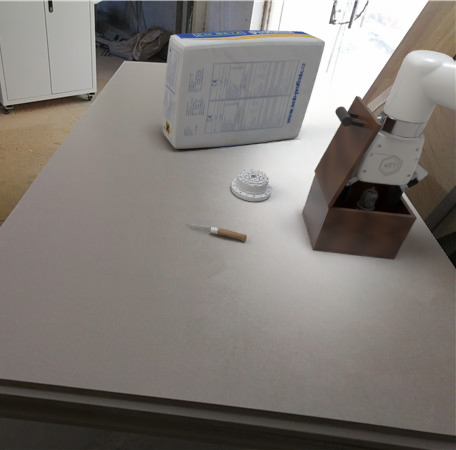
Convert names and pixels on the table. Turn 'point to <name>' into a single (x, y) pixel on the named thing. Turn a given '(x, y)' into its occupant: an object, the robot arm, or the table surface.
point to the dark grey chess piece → (367, 200)
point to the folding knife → (220, 231)
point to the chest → (357, 222)
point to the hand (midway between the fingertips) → (366, 201)
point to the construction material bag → (238, 86)
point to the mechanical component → (251, 186)
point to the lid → (346, 148)
